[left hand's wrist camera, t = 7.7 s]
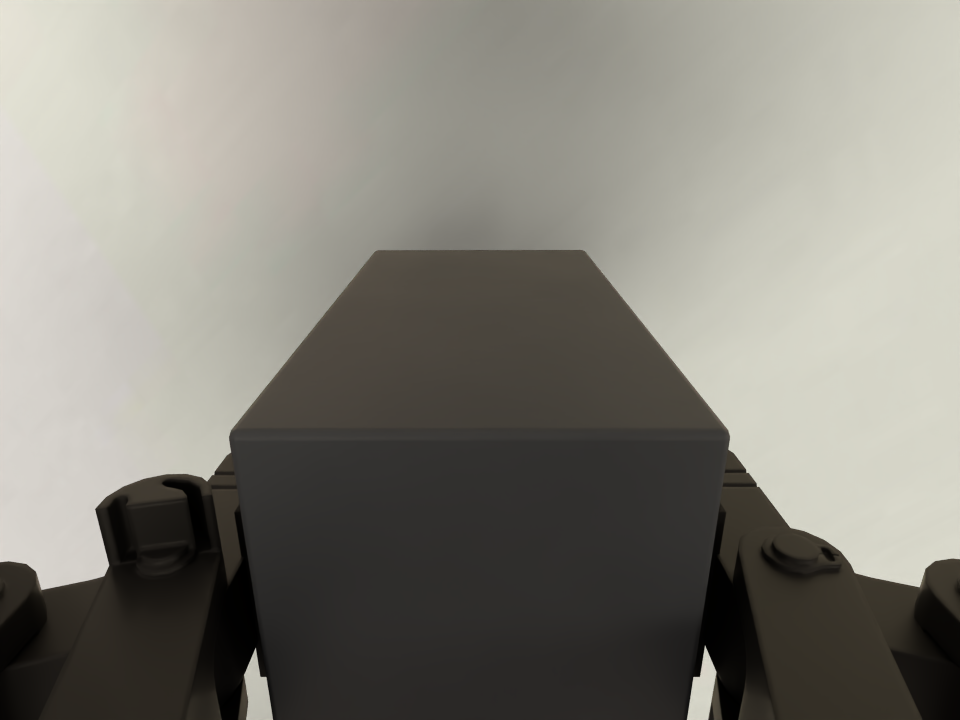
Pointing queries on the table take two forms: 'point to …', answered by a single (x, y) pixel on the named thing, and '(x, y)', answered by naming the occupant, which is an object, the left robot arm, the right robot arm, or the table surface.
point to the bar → (479, 499)
